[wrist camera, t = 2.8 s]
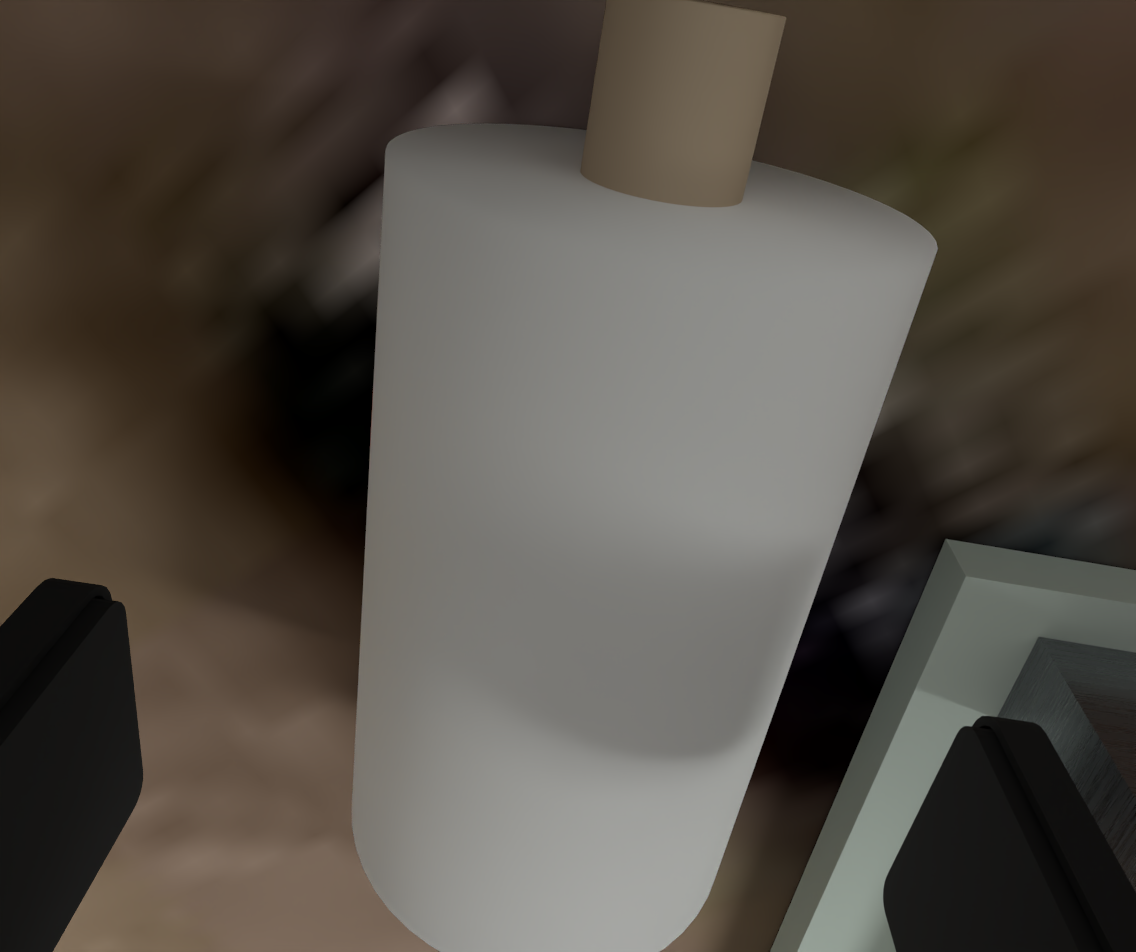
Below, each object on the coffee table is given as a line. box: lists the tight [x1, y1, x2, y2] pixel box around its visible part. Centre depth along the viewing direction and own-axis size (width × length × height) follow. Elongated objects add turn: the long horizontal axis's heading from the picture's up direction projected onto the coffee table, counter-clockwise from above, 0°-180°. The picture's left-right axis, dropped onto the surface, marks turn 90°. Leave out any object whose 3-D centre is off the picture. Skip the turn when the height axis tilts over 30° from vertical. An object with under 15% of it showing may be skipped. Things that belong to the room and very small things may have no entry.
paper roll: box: [352, 0, 938, 952], centre depth 14 cm, size 7×15×7 cm, turn 171°
